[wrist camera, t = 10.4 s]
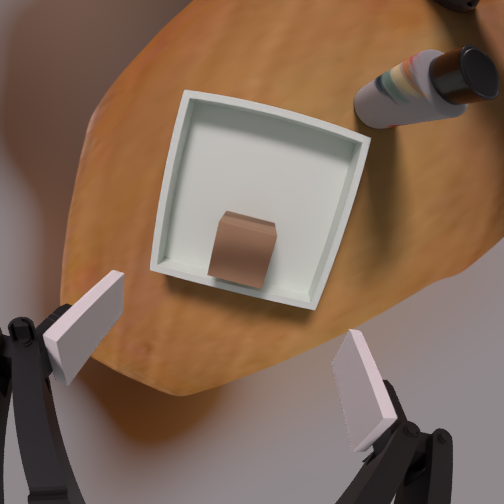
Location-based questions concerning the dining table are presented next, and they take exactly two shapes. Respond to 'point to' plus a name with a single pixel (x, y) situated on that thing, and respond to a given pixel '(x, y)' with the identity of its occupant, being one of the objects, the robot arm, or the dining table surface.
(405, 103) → the lotion bottle
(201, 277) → the tray
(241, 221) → the walnut block
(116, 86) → the dining table surface
